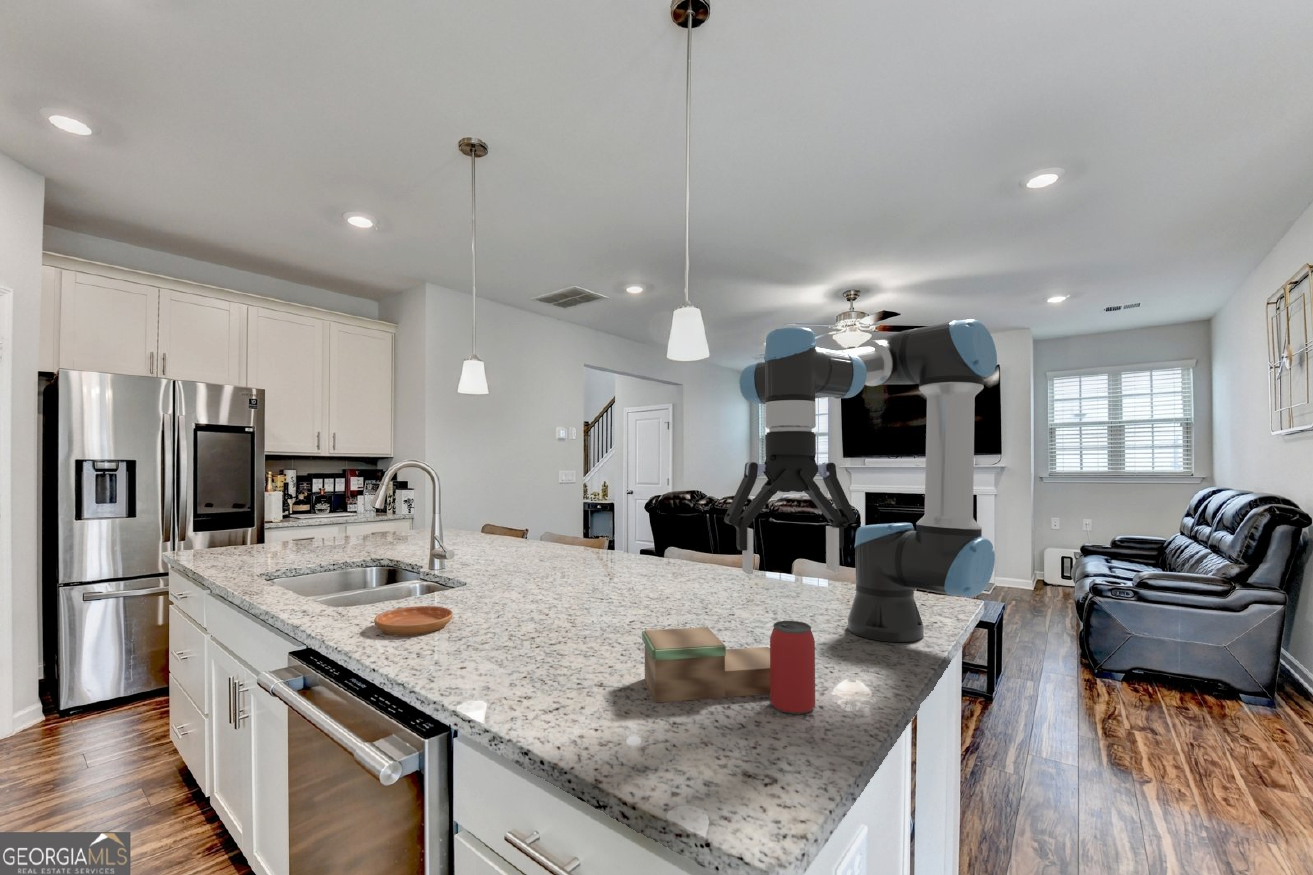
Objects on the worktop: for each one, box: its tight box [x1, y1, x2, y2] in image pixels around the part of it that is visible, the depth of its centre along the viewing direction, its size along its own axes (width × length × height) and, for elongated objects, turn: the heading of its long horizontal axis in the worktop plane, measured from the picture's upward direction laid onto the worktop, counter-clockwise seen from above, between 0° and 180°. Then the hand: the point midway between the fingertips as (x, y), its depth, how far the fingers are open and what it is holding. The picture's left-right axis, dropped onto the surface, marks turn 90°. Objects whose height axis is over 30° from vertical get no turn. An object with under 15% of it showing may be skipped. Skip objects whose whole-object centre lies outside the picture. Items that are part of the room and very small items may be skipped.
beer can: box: [769, 620, 816, 715], centre depth 88 cm, size 7×7×12 cm
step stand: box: [641, 626, 770, 703], centre depth 96 cm, size 22×10×8 cm, turn 101°
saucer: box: [373, 605, 454, 637], centre depth 129 cm, size 16×16×3 cm
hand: (790, 571), depth 88 cm, fingers open, 13 cm apart
